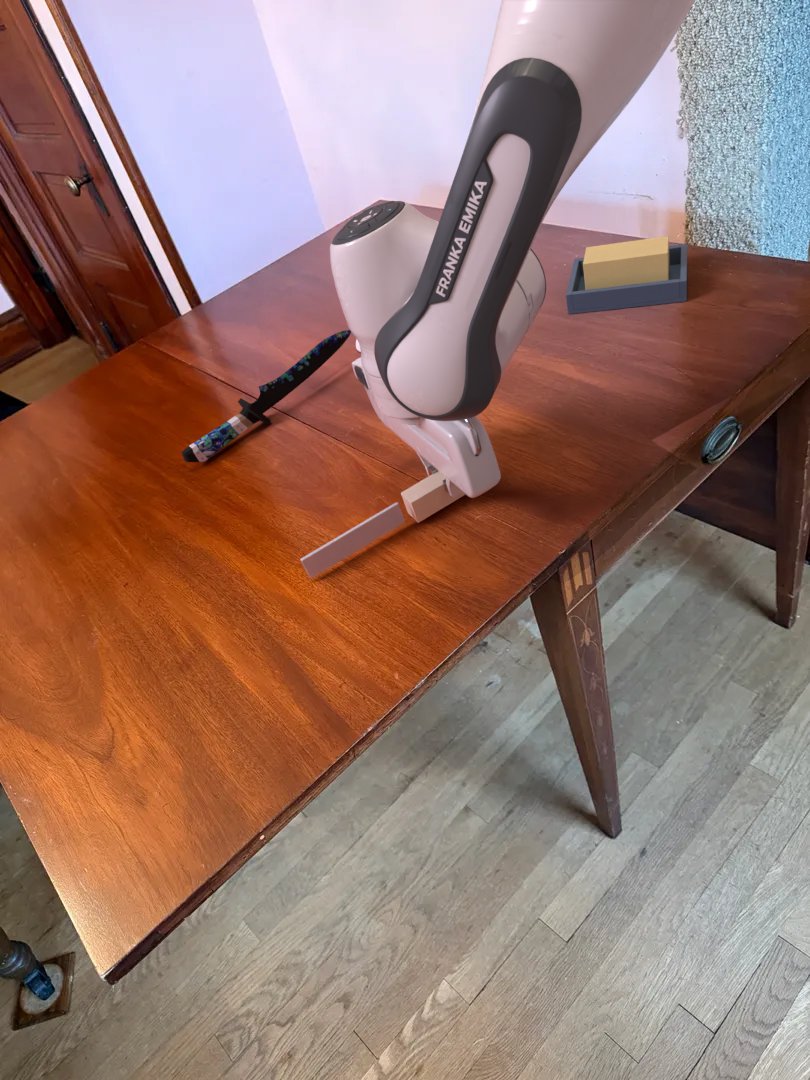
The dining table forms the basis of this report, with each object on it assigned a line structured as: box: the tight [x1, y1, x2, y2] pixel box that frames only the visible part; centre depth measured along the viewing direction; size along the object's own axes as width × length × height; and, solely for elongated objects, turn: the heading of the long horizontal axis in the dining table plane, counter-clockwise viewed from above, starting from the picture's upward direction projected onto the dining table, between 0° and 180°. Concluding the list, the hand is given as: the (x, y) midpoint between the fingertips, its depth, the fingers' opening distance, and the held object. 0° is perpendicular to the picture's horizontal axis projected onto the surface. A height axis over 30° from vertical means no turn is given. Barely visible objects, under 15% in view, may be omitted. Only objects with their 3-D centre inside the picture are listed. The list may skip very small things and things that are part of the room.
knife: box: [180, 329, 352, 463], centre depth 105 cm, size 30×3×4 cm, turn 126°
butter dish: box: [565, 243, 688, 315], centre depth 105 cm, size 16×11×3 cm
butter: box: [583, 235, 670, 290], centre depth 103 cm, size 11×5×4 cm, turn 74°
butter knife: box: [299, 471, 466, 580], centre depth 81 cm, size 23×2×3 cm, turn 119°
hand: (447, 484), depth 82 cm, fingers closed on butter knife, 2 cm apart
